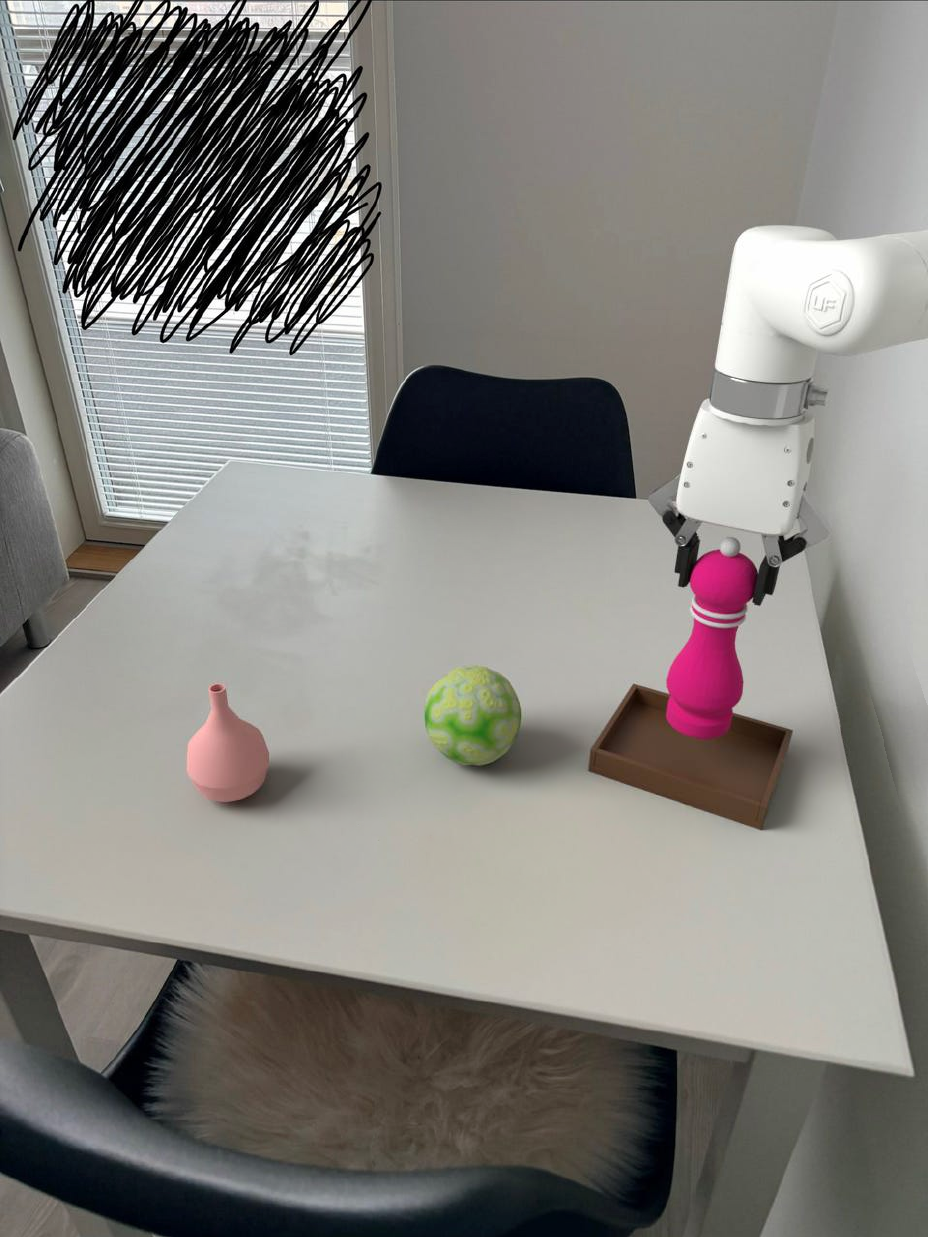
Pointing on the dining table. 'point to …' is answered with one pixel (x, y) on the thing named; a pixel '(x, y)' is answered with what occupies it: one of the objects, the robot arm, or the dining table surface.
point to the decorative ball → (472, 715)
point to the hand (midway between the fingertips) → (722, 588)
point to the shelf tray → (692, 758)
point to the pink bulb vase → (226, 753)
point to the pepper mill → (712, 644)
